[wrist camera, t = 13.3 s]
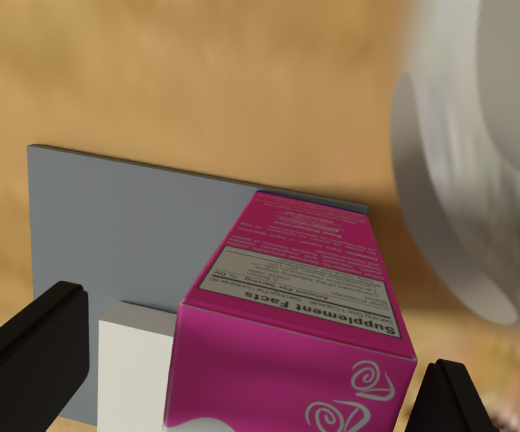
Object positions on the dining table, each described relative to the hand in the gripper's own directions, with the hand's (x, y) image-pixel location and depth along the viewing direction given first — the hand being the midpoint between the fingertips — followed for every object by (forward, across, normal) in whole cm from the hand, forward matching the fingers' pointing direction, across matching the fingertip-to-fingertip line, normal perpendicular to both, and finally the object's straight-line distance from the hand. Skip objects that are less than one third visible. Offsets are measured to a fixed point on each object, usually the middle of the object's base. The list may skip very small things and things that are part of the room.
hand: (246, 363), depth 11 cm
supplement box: (+10, -1, +1) cm, 10 cm away
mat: (+11, +5, +7) cm, 14 cm away
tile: (+9, +5, +6) cm, 12 cm away
